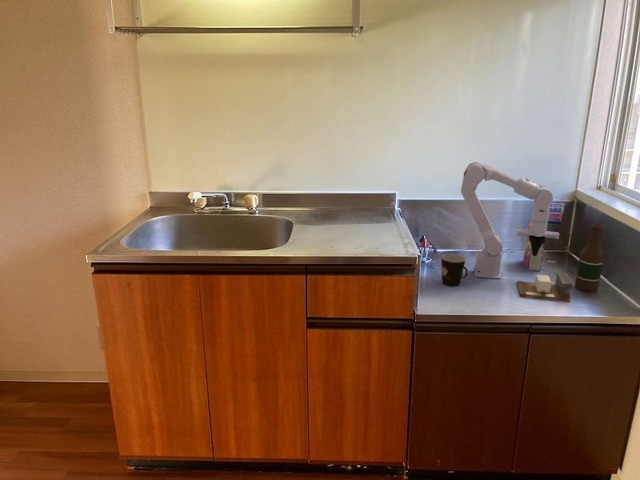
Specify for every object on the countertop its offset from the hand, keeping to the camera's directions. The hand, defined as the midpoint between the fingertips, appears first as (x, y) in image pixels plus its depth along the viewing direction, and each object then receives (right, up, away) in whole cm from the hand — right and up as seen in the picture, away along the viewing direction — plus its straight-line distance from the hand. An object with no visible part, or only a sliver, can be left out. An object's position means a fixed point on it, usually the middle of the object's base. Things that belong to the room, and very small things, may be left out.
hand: (534, 255), depth 183 cm
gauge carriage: (-1, -12, -11) cm, 17 cm away
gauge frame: (-1, -13, -10) cm, 16 cm away
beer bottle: (+16, -12, -6) cm, 21 cm away
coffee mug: (-32, -11, -3) cm, 34 cm away
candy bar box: (+5, -5, +15) cm, 17 cm away
